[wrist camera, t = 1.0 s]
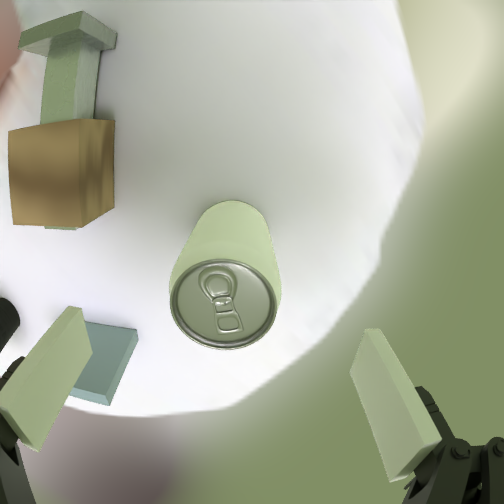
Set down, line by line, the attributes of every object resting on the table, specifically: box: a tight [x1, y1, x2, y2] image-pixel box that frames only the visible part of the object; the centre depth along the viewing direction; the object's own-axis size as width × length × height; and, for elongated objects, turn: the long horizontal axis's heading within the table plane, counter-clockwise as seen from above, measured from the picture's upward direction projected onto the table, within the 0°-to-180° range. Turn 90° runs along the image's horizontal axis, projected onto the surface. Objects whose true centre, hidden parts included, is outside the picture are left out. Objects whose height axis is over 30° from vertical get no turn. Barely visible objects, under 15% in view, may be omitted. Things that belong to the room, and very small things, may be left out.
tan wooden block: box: [8, 119, 115, 228], centre depth 20 cm, size 8×8×6 cm
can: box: [169, 200, 281, 350], centre depth 21 cm, size 6×6×12 cm
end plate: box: [69, 322, 138, 406], centre depth 25 cm, size 2×10×10 cm, turn 85°
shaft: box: [18, 11, 117, 230], centre depth 19 cm, size 18×6×7 cm, turn 175°
